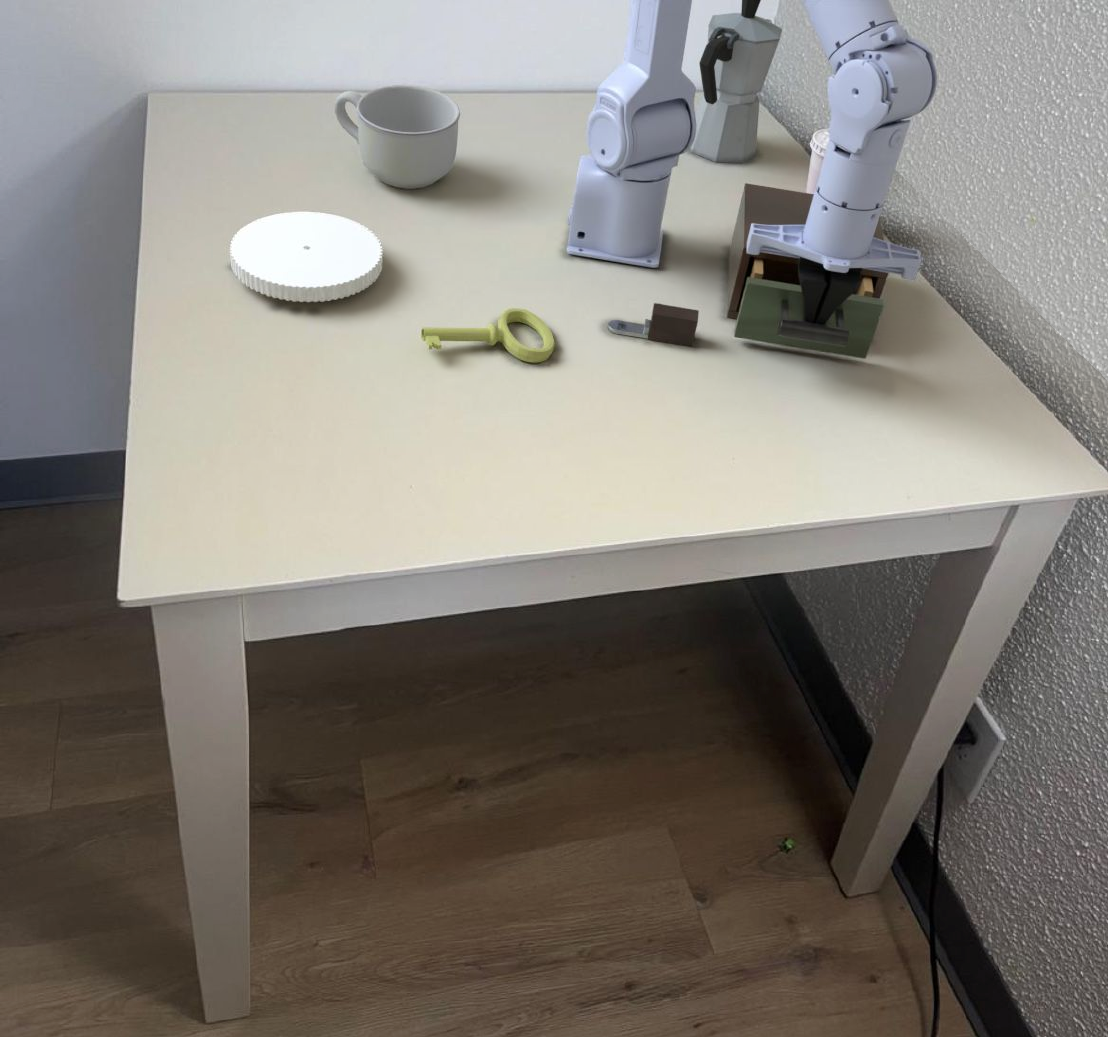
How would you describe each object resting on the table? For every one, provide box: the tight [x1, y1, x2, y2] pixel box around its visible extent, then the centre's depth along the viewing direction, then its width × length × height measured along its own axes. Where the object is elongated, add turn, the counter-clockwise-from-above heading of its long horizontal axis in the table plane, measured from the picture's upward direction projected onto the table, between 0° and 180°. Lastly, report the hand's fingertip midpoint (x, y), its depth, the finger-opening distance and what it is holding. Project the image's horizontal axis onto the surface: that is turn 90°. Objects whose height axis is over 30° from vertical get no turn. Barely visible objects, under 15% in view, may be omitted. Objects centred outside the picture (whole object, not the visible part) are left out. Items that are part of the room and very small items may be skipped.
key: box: [420, 307, 556, 364], centre depth 104 cm, size 7×12×2 cm, turn 126°
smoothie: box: [805, 128, 830, 194], centre depth 125 cm, size 6×6×14 cm
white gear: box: [229, 210, 383, 303], centre depth 110 cm, size 14×14×2 cm
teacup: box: [333, 84, 461, 190], centre depth 126 cm, size 14×11×8 cm
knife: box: [607, 302, 700, 348], centre depth 109 cm, size 8×2×3 cm, turn 83°
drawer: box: [733, 256, 885, 360], centre depth 110 cm, size 18×12×6 cm
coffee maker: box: [689, 0, 783, 164], centre depth 135 cm, size 15×9×18 cm, turn 144°
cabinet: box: [726, 182, 890, 320], centre depth 116 cm, size 14×14×8 cm
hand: (808, 333), depth 106 cm, fingers closed, pressing on drawer
